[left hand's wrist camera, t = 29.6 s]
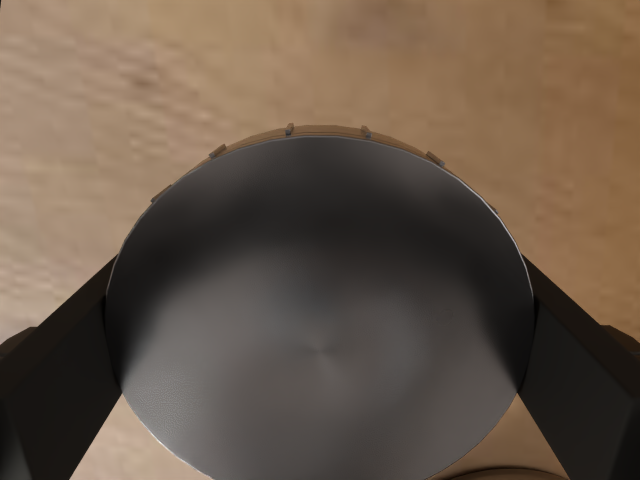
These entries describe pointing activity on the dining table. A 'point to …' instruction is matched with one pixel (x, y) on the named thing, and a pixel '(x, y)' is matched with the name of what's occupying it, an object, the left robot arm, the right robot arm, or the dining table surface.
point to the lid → (319, 311)
